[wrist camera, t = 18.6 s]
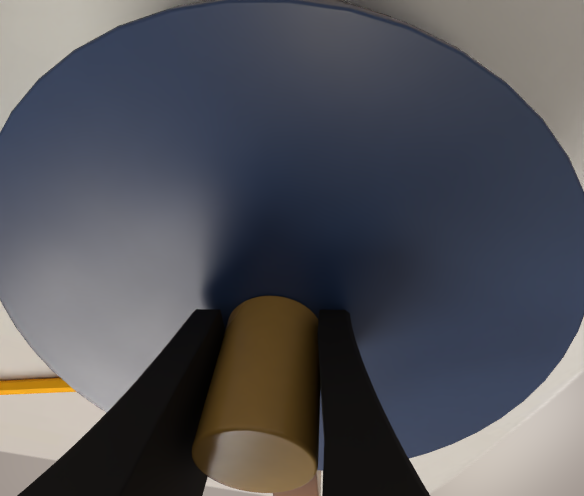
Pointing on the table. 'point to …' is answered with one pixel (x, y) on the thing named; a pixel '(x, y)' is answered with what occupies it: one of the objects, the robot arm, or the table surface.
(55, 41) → the table surface
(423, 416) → the tin lid
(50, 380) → the pencil
